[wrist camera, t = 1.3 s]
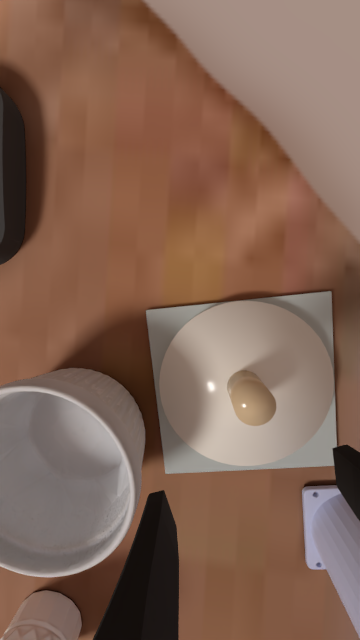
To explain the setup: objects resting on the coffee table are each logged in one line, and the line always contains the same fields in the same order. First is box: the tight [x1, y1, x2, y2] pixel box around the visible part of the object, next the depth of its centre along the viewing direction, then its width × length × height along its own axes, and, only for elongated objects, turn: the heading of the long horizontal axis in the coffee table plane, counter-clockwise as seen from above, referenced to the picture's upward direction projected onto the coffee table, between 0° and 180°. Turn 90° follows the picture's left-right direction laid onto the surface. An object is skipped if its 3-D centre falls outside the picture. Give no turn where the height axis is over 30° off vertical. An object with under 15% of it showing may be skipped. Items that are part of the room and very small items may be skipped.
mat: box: [146, 291, 337, 474], centre depth 19 cm, size 15×15×1 cm
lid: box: [159, 301, 334, 466], centre depth 17 cm, size 14×14×4 cm
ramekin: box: [0, 368, 145, 577], centre depth 17 cm, size 13×13×7 cm
